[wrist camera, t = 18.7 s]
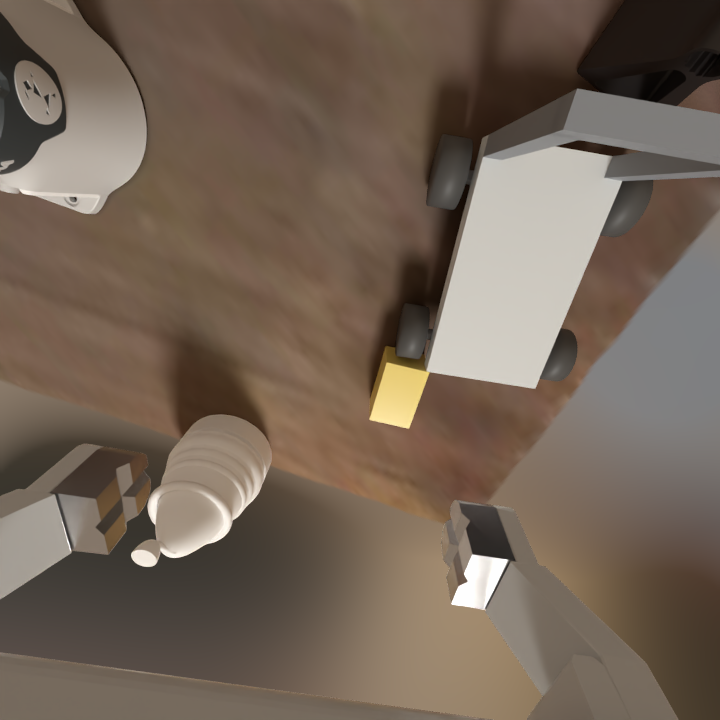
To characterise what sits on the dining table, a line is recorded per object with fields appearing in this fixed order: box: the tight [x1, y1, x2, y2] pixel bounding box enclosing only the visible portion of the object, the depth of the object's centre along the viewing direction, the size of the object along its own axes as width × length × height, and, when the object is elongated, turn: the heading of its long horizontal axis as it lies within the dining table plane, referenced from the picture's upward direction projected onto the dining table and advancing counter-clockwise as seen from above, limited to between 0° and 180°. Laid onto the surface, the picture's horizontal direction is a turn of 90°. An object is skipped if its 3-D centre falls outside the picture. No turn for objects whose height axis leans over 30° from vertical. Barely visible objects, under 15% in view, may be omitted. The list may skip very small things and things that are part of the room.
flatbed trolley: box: [395, 89, 720, 389], centre depth 30 cm, size 22×18×21 cm
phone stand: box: [577, 0, 720, 106], centre depth 27 cm, size 9×6×12 cm, turn 59°
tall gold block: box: [369, 346, 429, 429], centre depth 44 cm, size 5×8×5 cm, turn 167°
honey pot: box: [131, 414, 272, 567], centre depth 45 cm, size 13×13×18 cm
